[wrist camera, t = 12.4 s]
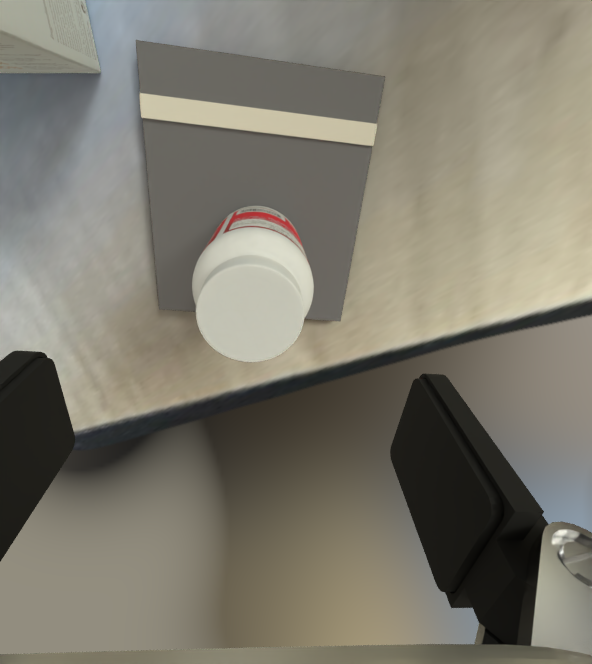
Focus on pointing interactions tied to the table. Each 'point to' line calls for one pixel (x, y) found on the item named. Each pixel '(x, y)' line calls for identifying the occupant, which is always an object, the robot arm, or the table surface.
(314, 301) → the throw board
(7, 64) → the small box
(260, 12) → the table surface
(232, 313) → the pill bottle
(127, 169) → the table surface
